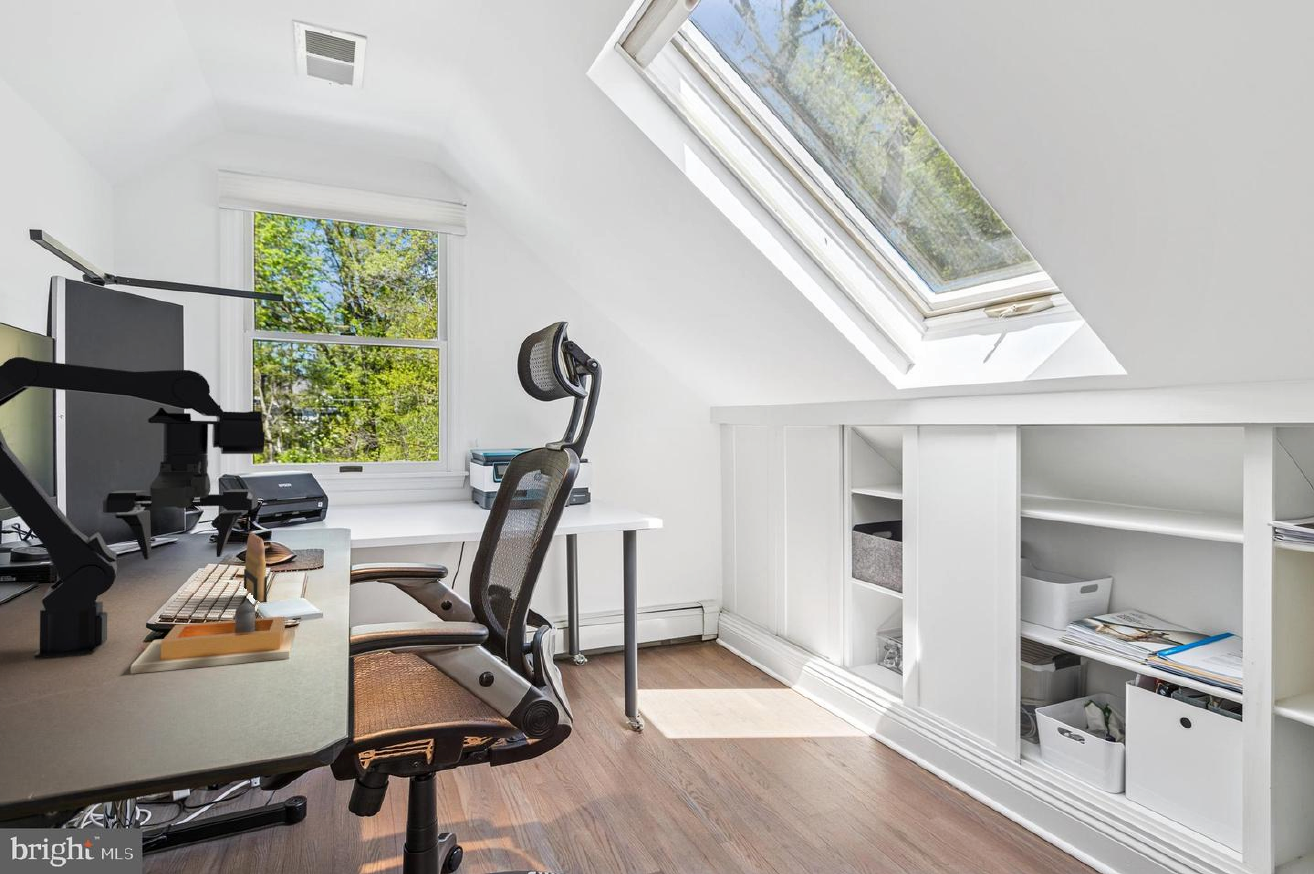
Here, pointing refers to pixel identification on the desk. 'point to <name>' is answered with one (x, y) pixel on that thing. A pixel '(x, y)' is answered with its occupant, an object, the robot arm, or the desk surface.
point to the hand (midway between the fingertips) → (183, 557)
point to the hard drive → (290, 609)
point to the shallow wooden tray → (221, 638)
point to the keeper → (243, 623)
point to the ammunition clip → (255, 569)
